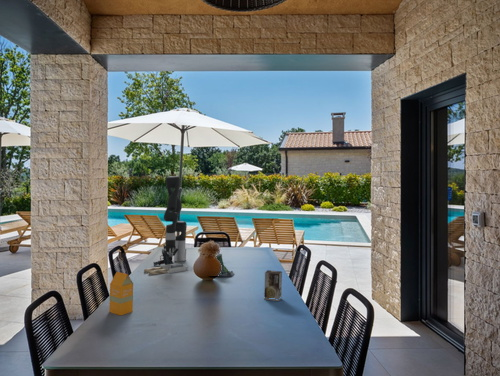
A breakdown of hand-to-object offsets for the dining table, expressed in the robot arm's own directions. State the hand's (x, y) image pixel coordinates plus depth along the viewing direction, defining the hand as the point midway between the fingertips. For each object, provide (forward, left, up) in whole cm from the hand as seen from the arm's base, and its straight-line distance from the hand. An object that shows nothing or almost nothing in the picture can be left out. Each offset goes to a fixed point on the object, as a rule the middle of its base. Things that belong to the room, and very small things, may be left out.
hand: (170, 261), depth 282 cm
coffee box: (-17, +94, -7) cm, 96 cm away
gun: (-4, -17, -7) cm, 19 cm away
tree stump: (-25, +31, -7) cm, 41 cm away
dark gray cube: (-8, +1, -7) cm, 10 cm away
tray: (-3, 0, -7) cm, 7 cm away
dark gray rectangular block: (-4, 0, -7) cm, 8 cm away
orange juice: (+62, +64, -7) cm, 90 cm away
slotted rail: (+11, 0, -7) cm, 13 cm away
